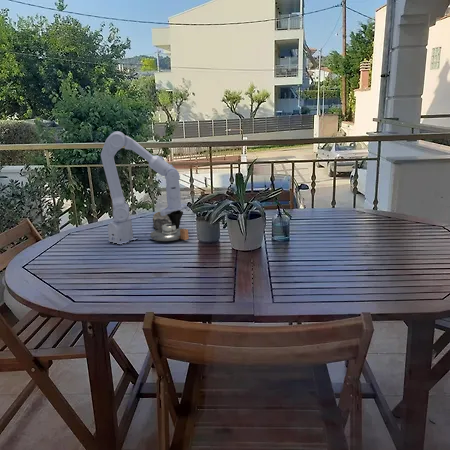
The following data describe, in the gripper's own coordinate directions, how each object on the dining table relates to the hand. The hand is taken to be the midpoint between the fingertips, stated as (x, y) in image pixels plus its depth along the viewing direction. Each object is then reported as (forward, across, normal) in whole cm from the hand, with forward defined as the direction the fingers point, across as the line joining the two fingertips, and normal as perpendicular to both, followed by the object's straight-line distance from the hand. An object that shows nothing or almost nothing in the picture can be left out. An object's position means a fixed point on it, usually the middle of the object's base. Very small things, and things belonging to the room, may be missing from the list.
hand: (176, 228), depth 169 cm
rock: (+3, +8, +14) cm, 17 cm away
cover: (+1, -4, 0) cm, 4 cm away
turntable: (+2, -4, -1) cm, 5 cm away
